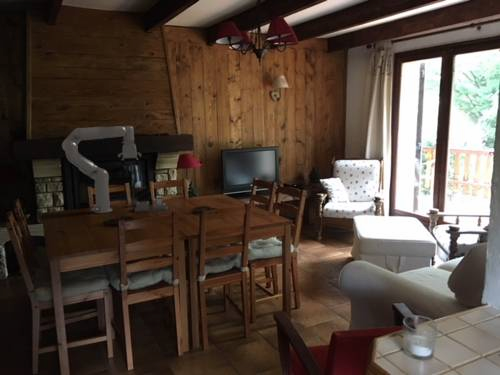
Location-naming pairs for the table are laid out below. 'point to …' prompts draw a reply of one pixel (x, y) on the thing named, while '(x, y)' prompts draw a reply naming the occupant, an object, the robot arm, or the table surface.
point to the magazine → (144, 195)
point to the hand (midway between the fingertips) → (130, 165)
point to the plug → (159, 200)
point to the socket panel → (145, 207)
